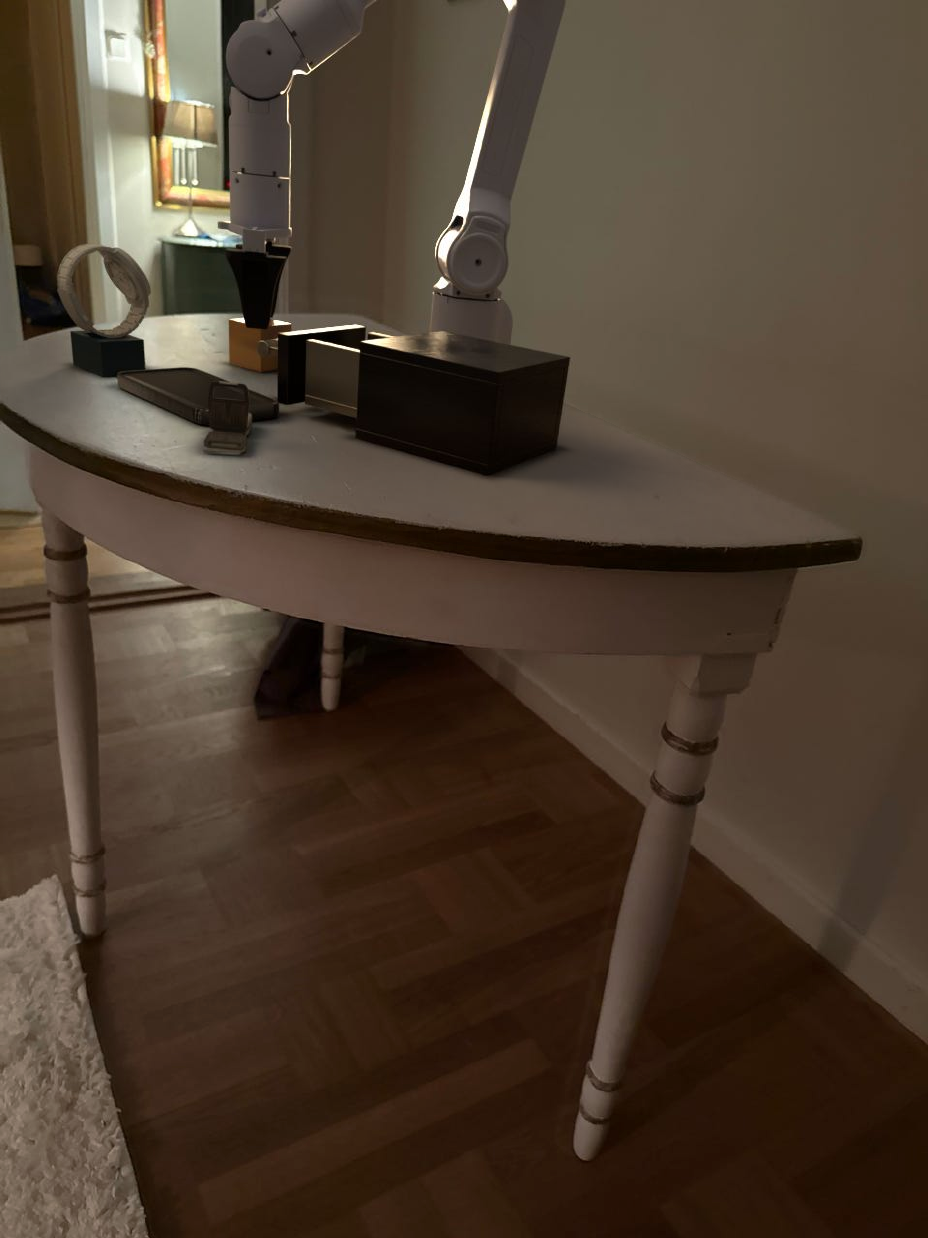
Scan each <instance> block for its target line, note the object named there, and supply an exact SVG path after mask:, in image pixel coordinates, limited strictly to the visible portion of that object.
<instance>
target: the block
mask: <svg viewBox="0 0 928 1238" xmlns="http://www.w3.org/2000/svg"><path fill="white" fill-rule="evenodd" d="M283 332H292V323H289V322H285V321H281V320H278V319H277V320H276V319H273V318H270V322H269V325H268V328H267V329H256V328H246V325H245V321H244V317H239V318H229V319H228V358H229V363H228V364H229V365H232V366H234V367H235V366H237V367H240V368H243V369H246V370H247V369H248V370H251V371H254V372H255V371H256V372H258V373H264V372H271V371H278V355H276V356H269V357H262V356H260V355H259V353H258V351H257V344H258V342H259V341H262V340H271V339H278V333H283Z"/></svg>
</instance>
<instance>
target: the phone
mask: <svg viewBox="0 0 928 1238" xmlns="http://www.w3.org/2000/svg"><path fill="white" fill-rule="evenodd" d="M116 377H117V386H118V388H120V389H123V390H125V391H126V392H129V393H131V394H133V395H135V396H138V397H139V398H142V399H144V400H146V401H148V402H150V403H152V404H155V405H157V406H159V407H161V408H163V409H165V410H167V411H170V412H171V413H174V414H176V415H178V416H180V417H182V418H184V419H187V420H188V421H191V422H193V423H195V424H199V425H208V426H209V410H208V393H209V387H210V384H211V383H212V382H213V381H224V382H230V381H229V380H227V379H224V378H222V377H219V376H216V375H214V374H211V373H210V372H206V371H204V370H202V369H199V368H196V367H189V366H180V367H164V368H151V369H145V370H133V371H121V372H118V373H117V376H116ZM248 392H249V399H250V403H249V413H250V414H251V415H252V421H255V420H266V419H271V418H272V419H273V418H278V417H279V416H280V403H279V401H277V399H276V398H272V397H270V396H268V395H265V394H262V393H260V392H257V391H255V390H252V389H249V388H248ZM213 398H222V399H233V400H244V401H245V398H244V390H243V389H242V388H236V387H225V386H215V387H214V395H213Z"/></svg>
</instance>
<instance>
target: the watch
mask: <svg viewBox="0 0 928 1238" xmlns="http://www.w3.org/2000/svg"><path fill="white" fill-rule="evenodd" d="M95 252H98V253H99V254H100V256H101V258H102V259H103V261H102V263H103V265H104V269H105V271H106V273H107V275H108V278H109V279H110V280H111V282H112V283H113V285H114V286H115V288H117V289H118V290H119V292H120V293H122V295H124V298H125V300H126V303H127V304H128V305H130V307H129V310H128V312H127V314H126V316H125V318H124V319H123V320H122V321H121V322H120V324H118V325H116V326H115V327H113V328H112V329H111V328H110V329H97V328H95V327H94V325H95V324H94V322H93V321H92V320H91V318H90V317H89V316H88V314H87V312H86V311H85V309H84V307H83V305H82V302H81V300H80V298H79V295H78V293H76V291H75V285H74V283H73V278H72V277H73V275H74V272H75V268H76V267H77V266H78V265H79V263H80V262H81V260H83V259H84V258H86V257H87V256H88V255H91V254H93V253H95ZM56 281H57V289H56V291H57V293H58V296H59V299H60V301H61V303H62V305H63V307H64V309H65V311H66V313H67V314H68V316H69V317H70V318H71V320H72V321H73V322H74V324H75V325H76V326H77V328H79V329H81V330H70V342H71V343H70V344H71V354H72V364H73V365H72V366H75V367H78V368H80V369H83V370H85V371H88V372H89V373H93V374H95V375H98V376H100V377H103V378H107V377H117V373H118V372H121V371H133V370H146V355H145V354H146V353H145V339H143V338H140V337H137V336H134V335H131V334H132V333H133V332H135V330H137V329H138V328H139V326H140V325H141V324H142V323H143V321H144V319H145V316H146V314H147V312H148V308H149V307H150V299H149V296H151V293H152V288H151V284H150V281H149V279H148V278H147V275H146V274H145V272H144V270H143V269H142V268H141V266H140V265H139V264H138V263H137V261H136V260H135V259H134V258H133V256H131V255H130V254H129V253H128V252H127V251H125V250H123V248H121V247H118V246H117V247H111V246H105V245H103V244H98V243H83V244H80V245H77V246H75V247H74V248H72V249H71V250H69V251H68V252H67V254H65V255H64V257H63V258H62V260H61V263H60V264H59V267H58V270H57V275H56Z"/></svg>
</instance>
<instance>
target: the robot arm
mask: <svg viewBox="0 0 928 1238" xmlns="http://www.w3.org/2000/svg"><path fill="white" fill-rule="evenodd" d="M376 1H378V0H280V1H279V2H277V3H276V4H275V5H273V6H272V7H271V8H269V9H267V8H266V6H265V5H262V7H261V8H259V9H258V10H257V11H256V12H255V14H256V17H257V19H258V20H257V19H251V20H245V21H242V22H241V23H240V24H239V27H238V28H237V30H235V32H233V34H232V35H231V36H230V38H229V41H228V43H227V46H226V52H225V64H226V68H227V72H228V75H229V76H230V79H231V81H232V82H233V85H234V86H230V93H229V98H228V100H229V101H228V102H229V108H230V115H229V117H228V160H229V161H228V163H229V164H228V166H229V167H228V168H229V169H228V170H229V220H217V229H220V230H227V231H229V232H230V233H233V234H236V235H237V236H241V237H242V240H241V241H242V243H236V244H235V248H231V247H227V248H225V249H224V256H225V258H226V261H227V263H228V265H229V267H230V269H231V271H232V273H233V276H234V279H235V283H236V286H237V290H238V295H239V300H240V306H241V311H242V316H243V317H242V318H244V321H245V325H246V328H256V329H267V328H268V325H269V322H270V319H273V318H274V316H275V313H276V312H275V311H276V309H277V302H278V295H279V290H280V284H281V279H282V275H283V273H284V270H285V269H284V268H285V266H286V262H287V260H288V259H289V256H290V254H291V253H292V246H290V245H285V244H276V243H275V242H276V239H287V238H292V233H293V230H292V229H293V228H292V227H290V226H291V157H292V156H291V154H292V153H291V151H292V150H291V149H292V147H291V146H292V145H291V143H292V127H291V123H290V122H289V94H288V93H289V91H290V89H291V88H292V84H293V81H294V77H295V75H298V74H303V75H308V74H311V72H312V71H314V70H315V69H316V68H317V67H319V66H320V65H321V64H323V63H324V62H325V61H326V60H328V59H329V58H330V57H332V56H333V55H334V54H336V53H337V52H338V51H340V50H341V49H342V48H343V47H345V46H346V45H347V44H349V43H350V42H351V41H353V40H355V38H357V37H358V36H359V35H361V33H362V30H363V23H364V15H365V10H366V9H367V8H368V7H370V6H371V5H373V4H374V3H376ZM503 2H504V4H505V6H506V8H507V10H508V15H507V19H506V23H505V27H504V30H503V35H502V39H501V43H500V45H499V50H498V55H497V58H496V62H495V65H494V70H493V74H492V78H491V82H490V86H489V89H488V93H487V98H486V101H485V105H484V107H483V108H484V109H483V113H482V117H481V121H480V124H479V128H478V132H477V135H476V140H475V144H474V148H473V151H472V152H473V153H472V155H471V160H470V164H469V167H468V171H467V175H466V178H465V183H464V186H463V189H462V192H461V194H460V196H459V198H458V200H457V202H456V205H455V207H454V211H453V215H452V219H451V221H450V223H449V224H448V226H447V228H446V229H445V230H444V231H443V232H442V233H441V235H440V237H439V238H438V240H437V242H436V244H435V245H436V246H435V253H434V257H435V263H436V267H437V269H438V271H439V273H440V274H441V275H442V276H441V277H440V279H439V281H438V282H437V283H436V284H434V285H432V286H433V287H432V288H433V289H432V290H433V292H432V299H431V312H430V322H429V323H430V324H429V333H431V332H438V331H445V332H450V333H455V334H459V335H464V336H469V337H474V338H479V339H484V340H489V341H494V342H499V343H503V344H508V345H511V343H512V335H513V327H514V325H513V324H514V319H513V313H512V311H511V308H510V306H509V305H508V303H507V301H506V300H504V299H503V298H502V293H503V292H502V290H500V289H499V288H498V287H500V285H501V284H502V283H503V281H504V279H505V277H506V275H507V272H508V269H509V253H508V252H509V251H508V245H507V241H508V236H509V231H510V227H511V202H512V197H513V194H514V191H515V187H516V183H517V180H518V176H519V172H520V169H521V166H522V161H523V159H524V154H525V152H526V151H525V150H526V147H527V144H528V140H529V136H530V134H531V129H532V126H533V122H534V119H535V115H536V113H537V108H538V105H539V101H540V97H541V94H542V90H543V86H544V83H545V79H546V75H547V73H548V68H549V64H550V61H551V57H552V54H553V50H554V47H555V43H556V40H557V36H558V33H559V30H560V26H561V21H562V18H563V15H564V11H565V8H566V3H567V0H503Z"/></svg>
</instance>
